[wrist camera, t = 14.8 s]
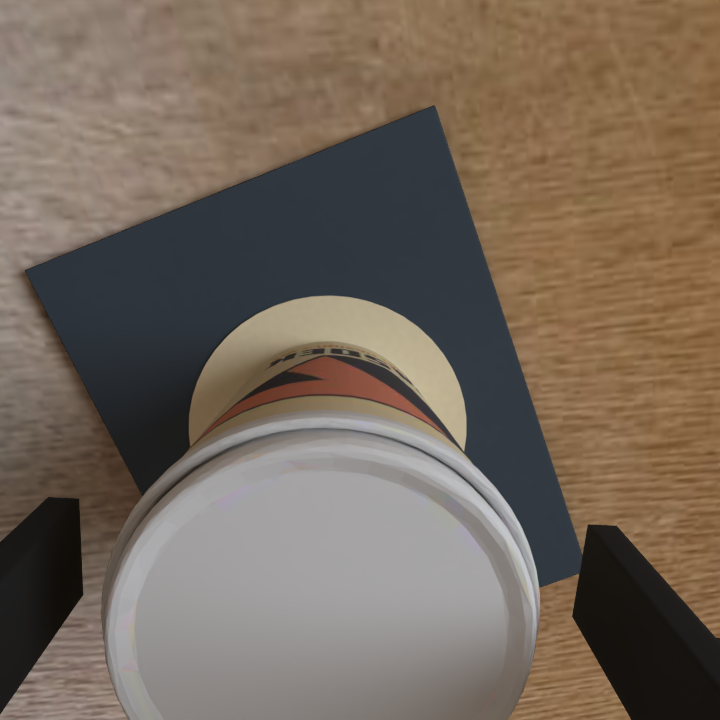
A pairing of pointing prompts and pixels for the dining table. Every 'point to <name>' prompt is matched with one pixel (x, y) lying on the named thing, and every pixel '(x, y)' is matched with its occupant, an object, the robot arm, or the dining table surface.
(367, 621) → the coffee cup
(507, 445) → the place mat
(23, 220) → the dining table surface
